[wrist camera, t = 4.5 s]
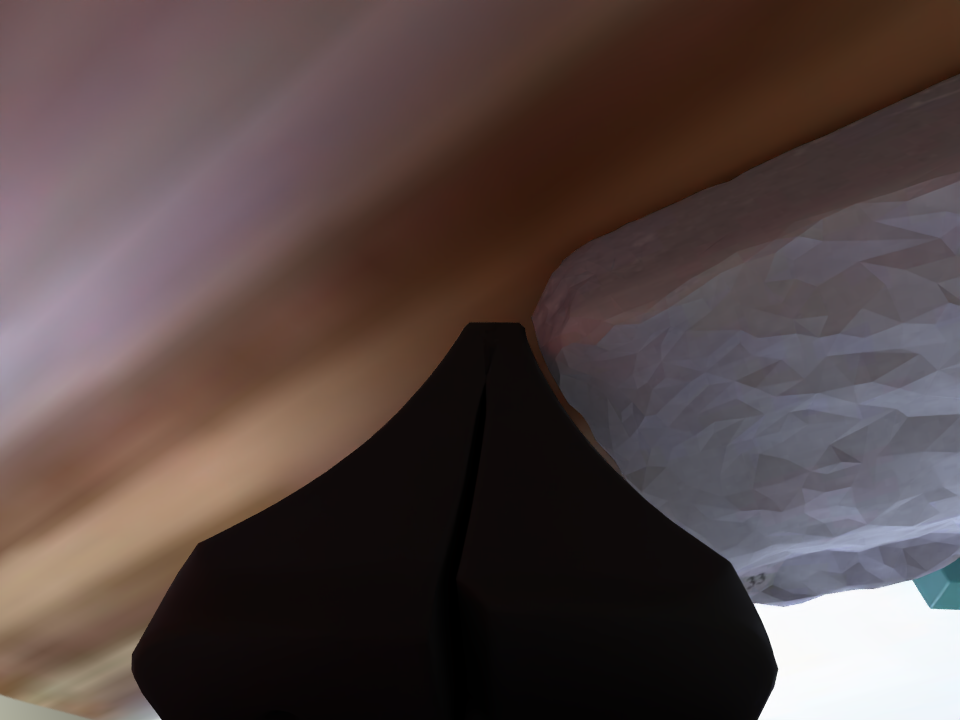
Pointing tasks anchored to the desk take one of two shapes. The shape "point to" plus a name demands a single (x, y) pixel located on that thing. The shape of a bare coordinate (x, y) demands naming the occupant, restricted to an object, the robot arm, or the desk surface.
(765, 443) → the stone block
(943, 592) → the frame
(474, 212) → the desk surface
